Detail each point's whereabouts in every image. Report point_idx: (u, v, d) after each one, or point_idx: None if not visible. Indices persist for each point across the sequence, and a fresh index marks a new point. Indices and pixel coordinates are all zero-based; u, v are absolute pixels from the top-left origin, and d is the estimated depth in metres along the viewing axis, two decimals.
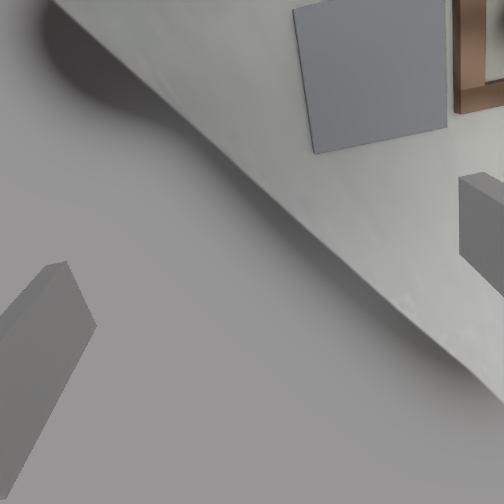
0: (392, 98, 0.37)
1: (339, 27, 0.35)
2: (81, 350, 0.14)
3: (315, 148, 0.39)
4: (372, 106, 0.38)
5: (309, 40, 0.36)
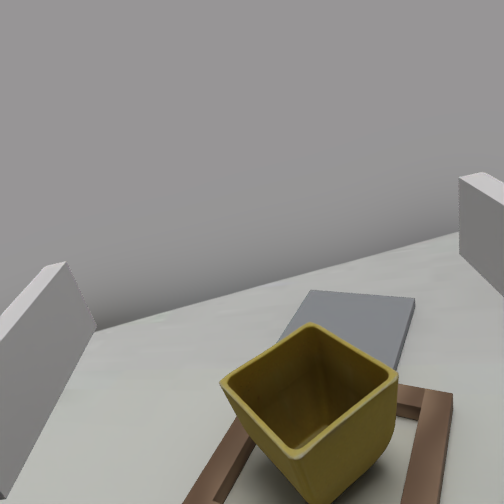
0: None
1: (387, 315, 0.44)
2: (81, 350, 0.14)
3: (314, 290, 0.51)
4: (319, 320, 0.46)
5: (388, 301, 0.46)
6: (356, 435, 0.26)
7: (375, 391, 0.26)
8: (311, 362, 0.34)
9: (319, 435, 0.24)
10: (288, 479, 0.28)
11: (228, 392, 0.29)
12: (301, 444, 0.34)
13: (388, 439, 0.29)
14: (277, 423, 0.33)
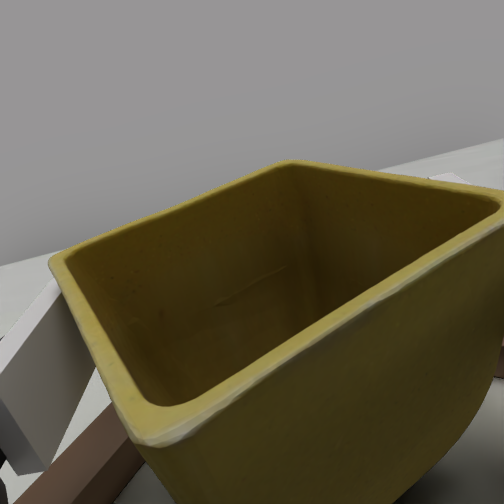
0: None
1: None
2: None
3: None
4: None
5: None
6: (402, 379, 0.08)
7: (466, 233, 0.08)
8: (288, 252, 0.16)
9: (268, 356, 0.06)
10: None
11: (55, 273, 0.11)
12: None
13: (476, 408, 0.11)
14: (210, 377, 0.15)
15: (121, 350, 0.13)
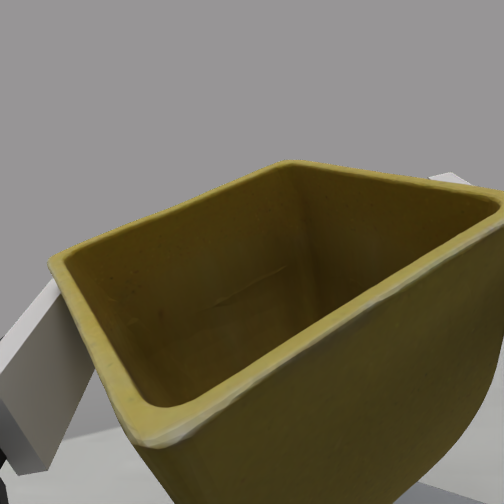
0: None
1: None
2: None
3: None
4: None
5: None
6: (401, 379, 0.08)
7: (466, 234, 0.08)
8: (287, 252, 0.16)
9: (267, 357, 0.06)
10: None
11: (54, 274, 0.11)
12: None
13: (475, 408, 0.11)
14: (209, 377, 0.15)
15: (120, 350, 0.13)
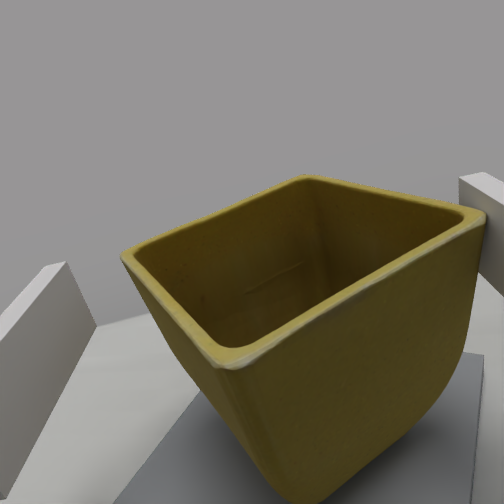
0: None
1: None
2: (81, 350, 0.14)
3: None
4: None
5: None
6: (389, 341, 0.11)
7: (435, 238, 0.11)
8: (304, 250, 0.19)
9: (298, 318, 0.09)
10: (238, 440, 0.13)
11: (129, 265, 0.14)
12: None
13: (450, 371, 0.14)
14: None
15: None
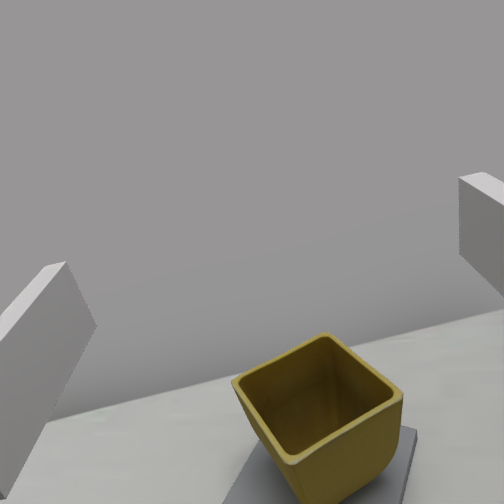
0: None
1: None
2: (81, 350, 0.14)
3: None
4: None
5: None
6: (355, 449, 0.27)
7: (377, 408, 0.26)
8: (324, 371, 0.35)
9: (316, 444, 0.25)
10: None
11: (238, 392, 0.30)
12: (308, 449, 0.35)
13: (390, 456, 0.29)
14: (286, 426, 0.34)
15: None
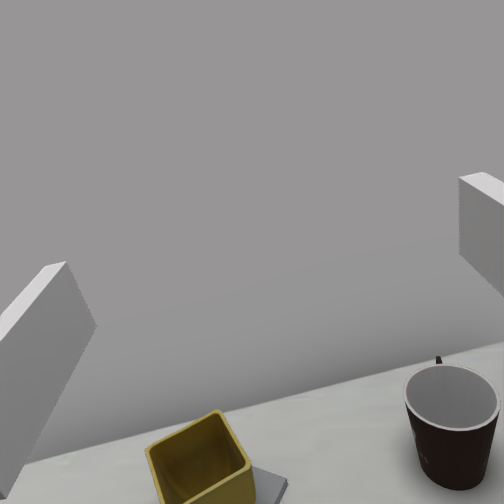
0: None
1: None
2: (81, 350, 0.14)
3: None
4: None
5: (262, 478, 0.48)
6: (217, 502, 0.39)
7: (231, 475, 0.39)
8: (219, 436, 0.48)
9: (186, 502, 0.38)
10: None
11: (147, 458, 0.43)
12: None
13: None
14: (190, 477, 0.47)
15: (162, 471, 0.45)
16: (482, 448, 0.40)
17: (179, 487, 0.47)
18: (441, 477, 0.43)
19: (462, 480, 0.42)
